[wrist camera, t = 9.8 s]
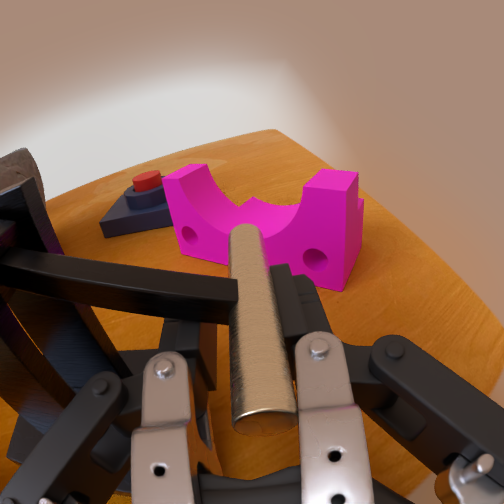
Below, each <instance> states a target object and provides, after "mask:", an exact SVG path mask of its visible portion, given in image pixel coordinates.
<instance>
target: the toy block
mask: <svg viewBox="0 0 504 504" xmlns="http://www.w3.org/2000/svg"><path fill="white" fill-rule="evenodd" d="M162 183H163V187H164V191H165V195H166V199H167V203H168V206H169V210H170V214H171V218H172V221H173V225H174V229H175V232H176V236H177V239H178V243H179V246H180V250H181V253H182V254H184V255H188V256H192V257H196V258H200V259H204V260H208V261H212V262H216V263H220V264H224V265H228V236H229V233H230V231H231V230H232V229H233V228H234V227H236V226H237V225H240V224H252V225H254V226H256V227H258V228H259V229H260V230H261V232H262V234H263V238H264V243H265V248H266V253H267V257H268V262H269V266H270V265H277V264H283V263H288V264H289V267H290V270H291V273H292V276H294V275H300V274H305V275H306V276H307V277H308V278H310V279H311V280H312V281H313V283H314V285H315V286H318V287H323V288H327V289H332V290H336V291H340V292H342V291H343V289H344V286H345V284H346V282H347V280H348V277H349V275H350V273H351V270H352V268H353V266H354V263H355V261H356V258H357V256H358V254H359V251H360V249H361V243H362V228H363V209H364V199H361V198H358V172H351V171H342V170H341V171H340V170H331V169H321V170H320V171H319V172H318V173H317V174H316V175H315V176H314V177H313V178H312V179H310V180H309V181H308V182H307V183H306V184H305V185H304V186H303V193H302V198H301V203H298V204H295V205H288V206H279V205H273V204H269V203H266V202H263V201H261V200H259V199H257V198H255V197H252V198H250V199H249V200H248V201H246V202H245V203H244V204H242V205H241V206H240V207H238V206H236V205H235V204H234V203H232V202H231V201H230V200H229V199H228V198H227V197H226V196H225V195H224V194H223V193H222V192H221V190H220V189H219V188H218V186H217V185H216V183H215V181H214V180H213V178H212V176H211V173H210V171H209V168H208V165H207V164H189V165H187V166H185V167H183V168H181V169H179V170H177V171H175V172H173V173H171V174H169V175H167V176H165V177H163V178H162Z"/></svg>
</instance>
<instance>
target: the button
mask: <svg viewBox="0 0 504 504" xmlns="http://www.w3.org/2000/svg"><path fill="white" fill-rule="evenodd" d="M132 181H133V185H134V188H135V192H143V191H148V190H151V189H153V188H156V187H158V186H160V185H162V184H163V183H162V178H161V174H160V171H149V172H145V173H142V174H140V175H138V176H136V177H134V178H133V179H132Z"/></svg>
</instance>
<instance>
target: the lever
mask: <svg viewBox="0 0 504 504" xmlns="http://www.w3.org/2000/svg"><path fill="white" fill-rule="evenodd" d="M16 290H21V291H25V292H29V293H33V294H37V295H42V296H46V297H51V298H55V299H60V300H65V301H69V302H74V303H79V304H84V305H89V306H95V307H100V308H106V309H111V310H117V311H123V312H129V313H136V314H142V315H149V316H156V317H163V318H170V319H178V320H186V321H194V322H203V323H212V324H221V325H229V355H230V389H231V417H232V426H233V428H234V430H235V431H237V432H238V433H240V434H243V435H247V436H258V437H260V436H271V435H276V434H280V433H283V432H286V431H288V430H290V429H292V428H293V427H295V426H296V425H297V423H298V421H299V413H298V408H297V402H296V397H295V392H294V387H293V381H292V376H291V371H290V366H289V361H288V356H287V351H286V346H285V341H284V336H283V331H282V326H281V321H280V316H279V311H278V306H277V301H276V296H275V291H274V286H273V281H272V277H271V272H270V267H269V262H268V257H267V253H266V248H265V243H264V238H263V234H262V232H261V230H260V229H259V228H258V227H256V226H254V225H252V224H240V225H237V226H236V227H234V228H233V229H232V230H231V231H230V233H229V236H228V278H224V277H216V276H207V275H199V274H191V273H183V272H175V271H168V270H160V269H153V268H145V267H138V266H131V265H124V264H117V263H110V262H103V261H97V260H90V259H84V258H77V257H71V256H64V255H58V254H52V253H46V252H40V251H34V250H28V249H23V248H21V246H20V241H19V237H18V231H17V226H16V222H15V221H9V220H1V219H0V294H1V296H2V297H3V299H4V301H5V302H6V304H7V303H8V302H9V300H10V299H11V297H12V296H13V295H14V293H15V292H16Z"/></svg>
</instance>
